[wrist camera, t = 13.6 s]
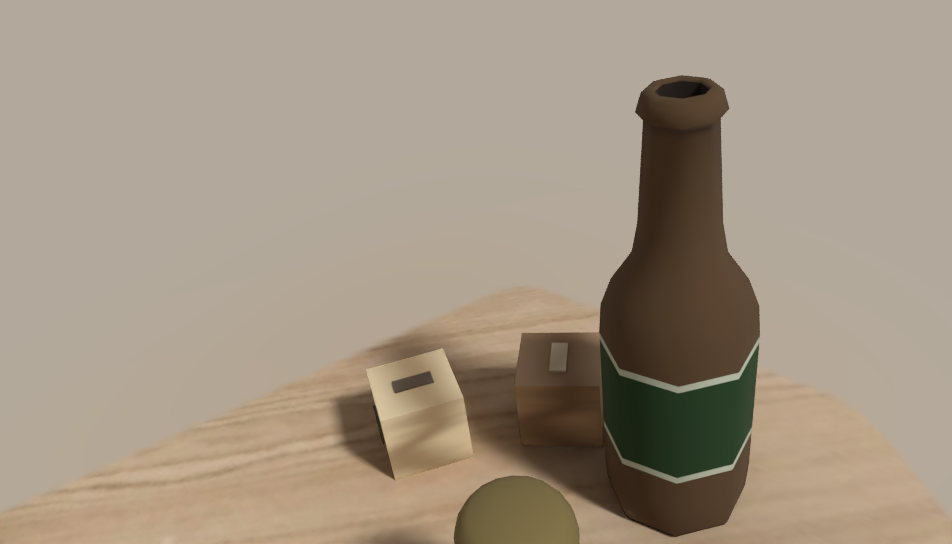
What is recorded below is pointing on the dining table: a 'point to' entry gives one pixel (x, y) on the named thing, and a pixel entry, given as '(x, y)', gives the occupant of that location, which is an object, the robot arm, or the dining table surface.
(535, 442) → the walnut cube marked
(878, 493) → the dining table surface
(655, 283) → the beer bottle
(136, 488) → the dining table surface
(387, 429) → the beech cube marked
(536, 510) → the cork
